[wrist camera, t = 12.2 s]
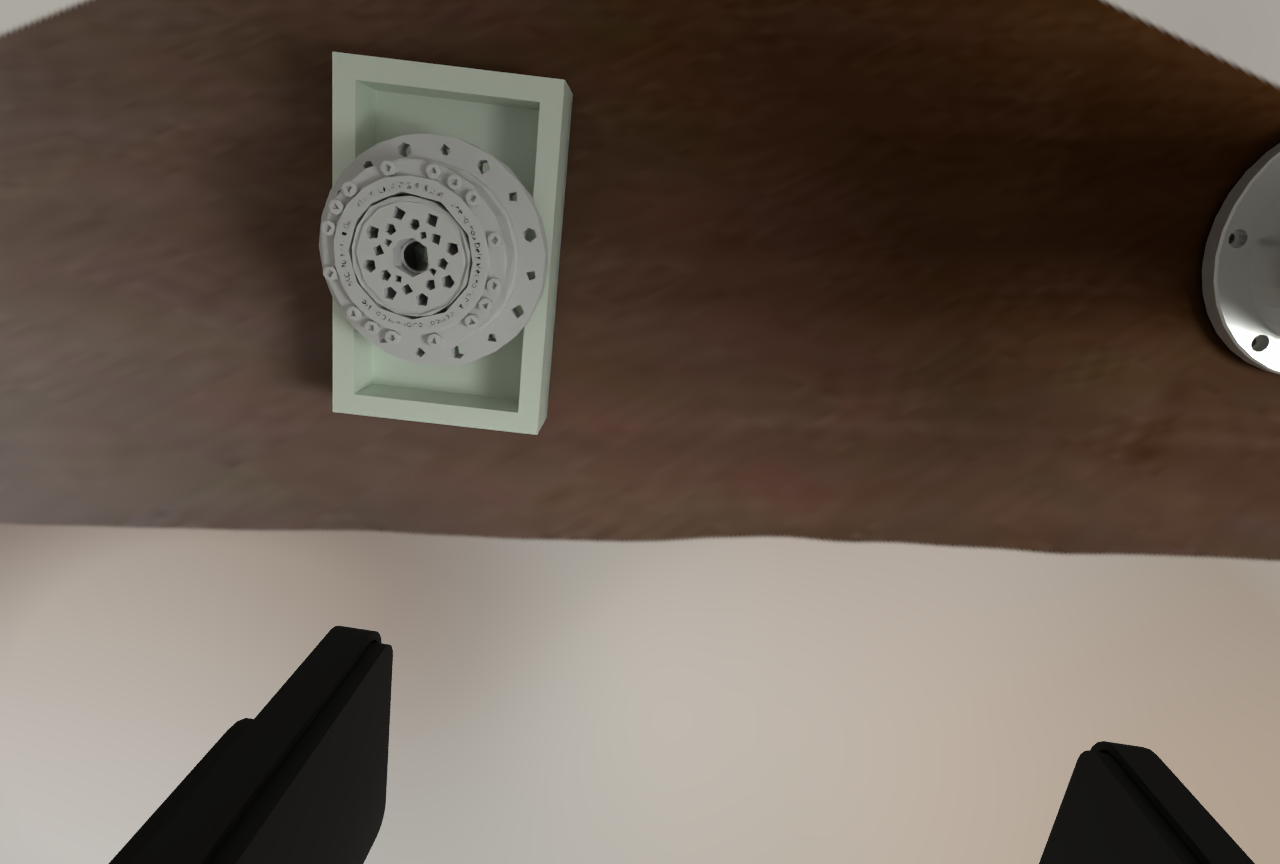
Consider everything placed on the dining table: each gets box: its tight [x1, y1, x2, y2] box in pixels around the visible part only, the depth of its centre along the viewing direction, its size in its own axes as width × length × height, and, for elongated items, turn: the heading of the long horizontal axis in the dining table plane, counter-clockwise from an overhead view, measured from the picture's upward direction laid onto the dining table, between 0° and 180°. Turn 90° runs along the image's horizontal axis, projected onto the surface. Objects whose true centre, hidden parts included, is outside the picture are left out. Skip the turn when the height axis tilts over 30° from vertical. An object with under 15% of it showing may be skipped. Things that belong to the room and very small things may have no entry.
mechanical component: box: [319, 133, 548, 367], centre depth 31 cm, size 10×4×10 cm
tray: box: [332, 52, 573, 435], centre depth 35 cm, size 10×16×4 cm, turn 174°
